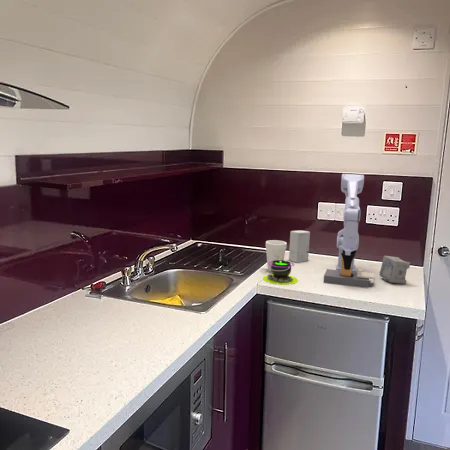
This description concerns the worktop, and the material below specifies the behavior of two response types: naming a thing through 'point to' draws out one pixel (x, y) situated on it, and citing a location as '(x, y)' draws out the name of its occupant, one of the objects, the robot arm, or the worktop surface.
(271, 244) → the foam cup
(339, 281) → the socket
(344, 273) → the orange bottle
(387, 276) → the grey rough block
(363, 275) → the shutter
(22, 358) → the worktop surface
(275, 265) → the toy cauldron
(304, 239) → the skincare box
